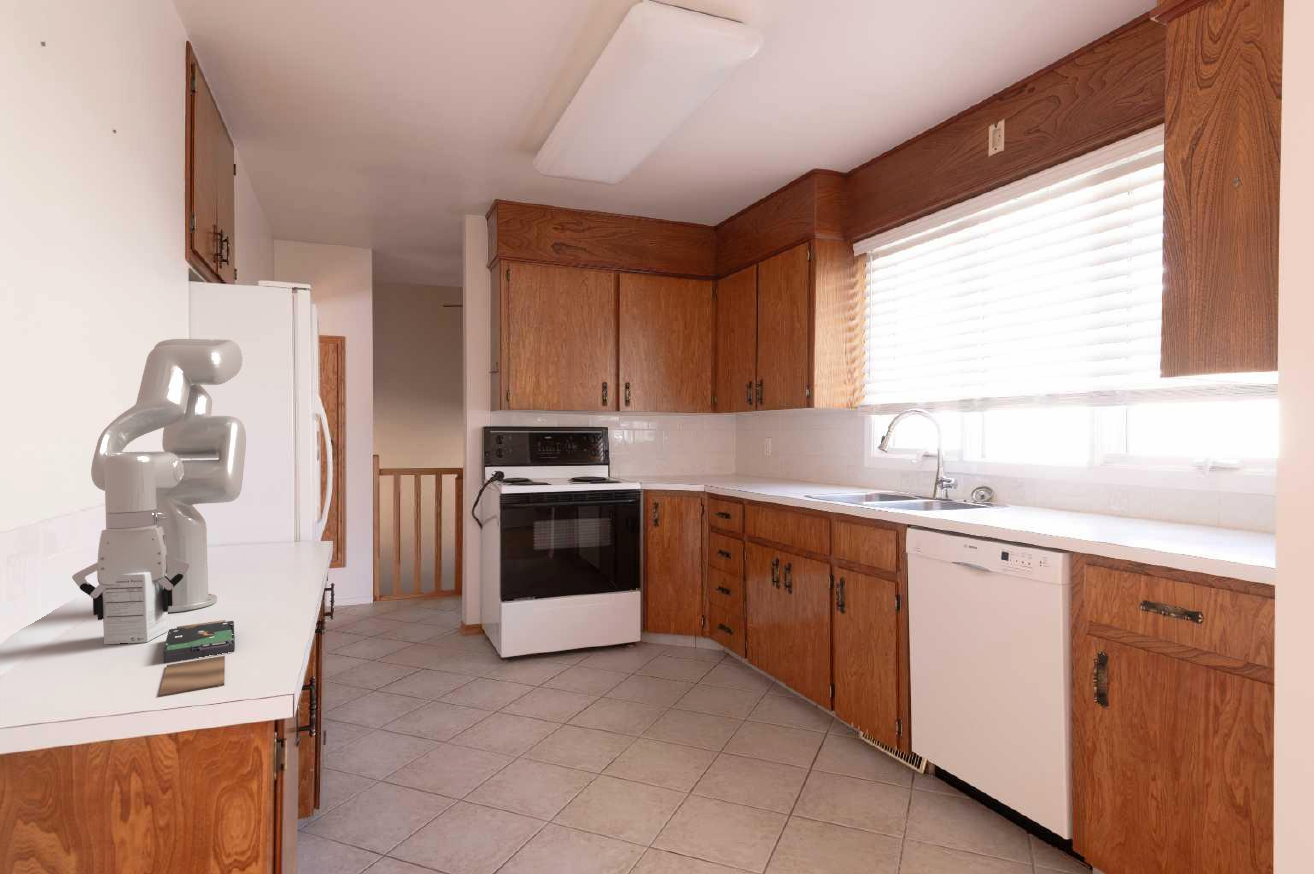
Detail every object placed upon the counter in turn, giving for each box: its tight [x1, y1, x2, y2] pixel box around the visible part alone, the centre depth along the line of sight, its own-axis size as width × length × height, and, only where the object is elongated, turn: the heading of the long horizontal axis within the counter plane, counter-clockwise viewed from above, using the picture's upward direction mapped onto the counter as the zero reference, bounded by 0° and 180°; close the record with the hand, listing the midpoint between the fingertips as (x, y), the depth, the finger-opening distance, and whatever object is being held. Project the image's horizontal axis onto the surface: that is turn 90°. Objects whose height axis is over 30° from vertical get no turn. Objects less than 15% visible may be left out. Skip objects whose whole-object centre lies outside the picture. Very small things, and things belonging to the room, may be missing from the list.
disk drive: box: [162, 620, 236, 664], centre depth 125 cm, size 10×3×15 cm
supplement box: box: [102, 572, 169, 645], centre depth 130 cm, size 7×7×13 cm
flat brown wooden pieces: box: [158, 619, 226, 697], centre depth 121 cm, size 41×8×1 cm, turn 31°
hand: (134, 614), depth 129 cm, fingers closed on supplement box, 9 cm apart
